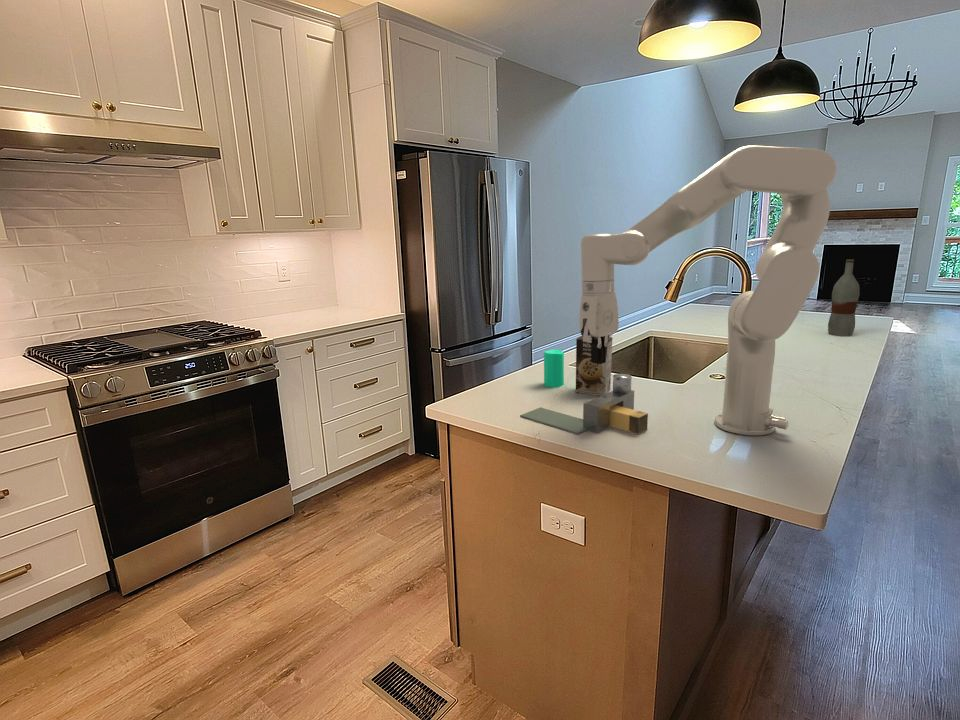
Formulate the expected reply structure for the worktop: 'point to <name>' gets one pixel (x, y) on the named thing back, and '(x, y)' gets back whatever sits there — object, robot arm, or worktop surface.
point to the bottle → (844, 303)
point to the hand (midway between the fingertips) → (598, 362)
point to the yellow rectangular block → (628, 419)
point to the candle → (553, 368)
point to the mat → (556, 420)
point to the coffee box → (592, 369)
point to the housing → (608, 404)
